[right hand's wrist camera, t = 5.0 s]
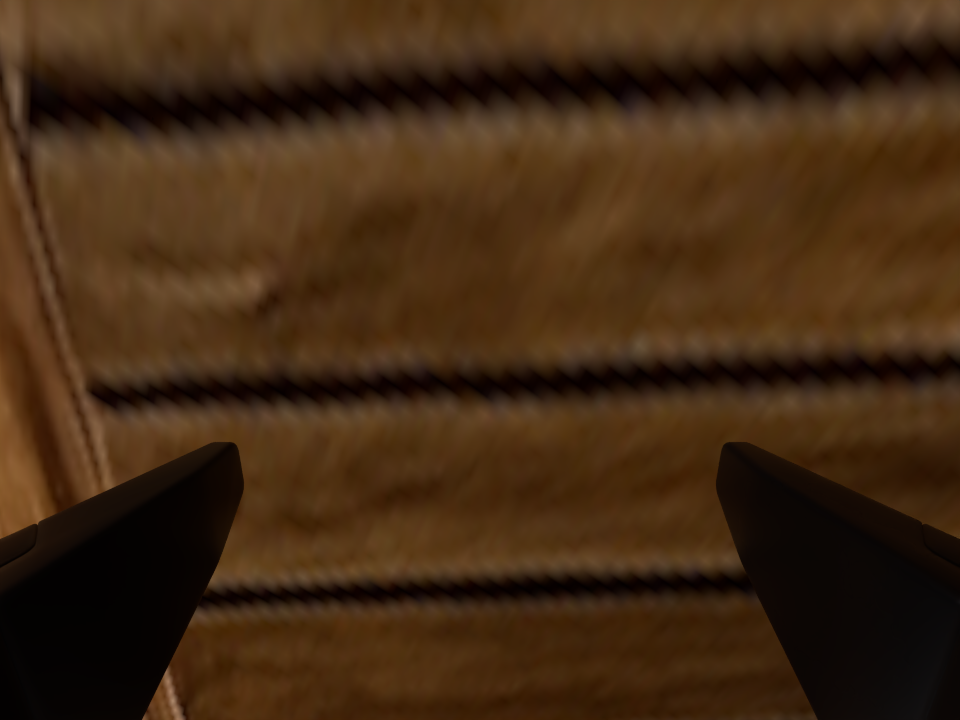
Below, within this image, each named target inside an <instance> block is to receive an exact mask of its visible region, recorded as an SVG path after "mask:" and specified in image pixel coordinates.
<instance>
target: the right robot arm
mask: <svg viewBox="0 0 960 720" xmlns="http://www.w3.org/2000/svg"><path fill="white" fill-rule="evenodd" d="M243 490H244V479H243V473H242V468H241V462H240V456H239V450H238V448H237V445H236V444H235V443H232V442H213V443H210V444H208V445H206V446H203V447H201V448H199V449H197V450H195V451H192V452H190V453H188V454H186V455H184V456H182V457H179V458H177V459H175V460H173V461H171V462H168V463H166V464H164V465H162V466H160V467H157V468H155V469H153V470H151V471H149V472H147V473H144V474H142V475H140V476H138V477H136V478H133V479H131V480H129V481H127V482H125V483H122V484H120V485H118V486H116V487H114V488H112V489H109V490H107V491H105V492H103V493H101V494H98V495H96V496H94V497H92V498H90V499H88V500H85V501H83V502H81V503H79V504H77V505H74V506H72V507H70V508H68V509H66V510H63V511H61V512H59V513H57V514H55V515H53V516H50V517H48V518H46V519H44V520H42V521H40V522H39V523H38V525H37V524H33V525H30V526H28V527H26V528H24V529H22V530H20V531H17V532H15V533H13V534H11V535H8V536H6V537H4V538H2V539H0V720H142V719H143V717H144V715H145V712H146V710H147V708H148V706H149V704H150V702H151V700H152V698H153V696H154V694H155V692H156V690H157V688H158V686H159V684H160V682H161V680H162V678H163V676H164V674H165V672H166V669H167V667H168V665H169V663H170V661H171V659H172V657H173V655H174V653H175V651H176V649H177V647H178V645H179V643H180V641H181V639H182V637H183V635H184V633H185V631H186V629H187V626H188V624H189V622H190V620H191V618H192V616H193V614H194V612H195V610H196V608H197V606H198V604H199V602H200V600H201V598H202V596H203V594H204V592H205V590H206V588H207V586H208V583H209V581H210V579H211V577H212V575H213V573H214V571H215V569H216V567H217V564H218V562H219V560H220V557H221V554H222V552H223V549H224V546H225V543H226V540H227V538H228V535H229V532H230V529H231V526H232V523H233V520H234V517H235V515H236V512H237V509H238V506H239V503H240V500H241V497H242V494H243ZM716 490H717V494H718V497H719V500H720V503H721V506H722V509H723V512H724V515H725V517H726V520H727V523H728V526H729V529H730V532H731V535H732V538H733V540H734V543H735V546H736V549H737V552H738V554H739V557H740V560H741V562H742V564H743V567H744V569H745V571H746V573H747V575H748V577H749V579H750V581H751V583H752V586H753V588H754V590H755V592H756V594H757V596H758V598H759V600H760V602H761V604H762V606H763V608H764V610H765V612H766V614H767V616H768V618H769V620H770V622H771V624H772V626H773V629H774V631H775V633H776V635H777V637H778V639H779V641H780V643H781V645H782V647H783V649H784V651H785V653H786V655H787V657H788V659H789V661H790V663H791V665H792V667H793V669H794V672H795V674H796V676H797V678H798V680H799V682H800V684H801V686H802V688H803V690H804V692H805V694H806V696H807V698H808V700H809V702H810V704H811V706H812V708H813V710H814V712H815V715H816V717H817V719H818V720H960V539H958V538H956V537H954V536H952V535H949V534H947V533H945V532H943V531H940V530H938V529H936V528H934V527H932V526H930V525H927V524H923V525H922V523H921V522H920V521H918V520H916V519H914V518H912V517H910V516H907V515H905V514H903V513H901V512H899V511H897V510H894V509H892V508H890V507H888V506H886V505H883V504H881V503H879V502H877V501H875V500H872V499H870V498H868V497H866V496H864V495H862V494H859V493H857V492H855V491H853V490H851V489H848V488H846V487H844V486H842V485H840V484H838V483H835V482H833V481H831V480H829V479H827V478H824V477H822V476H820V475H818V474H816V473H813V472H811V471H809V470H807V469H805V468H803V467H800V466H798V465H796V464H794V463H792V462H789V461H787V460H785V459H783V458H781V457H778V456H776V455H774V454H772V453H770V452H768V451H765V450H763V449H761V448H759V447H757V446H754V445H752V444H750V443H747V442H728V443H725V444H724V445H723V448H722V450H721V456H720V462H719V468H718V473H717V479H716Z"/></svg>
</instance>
